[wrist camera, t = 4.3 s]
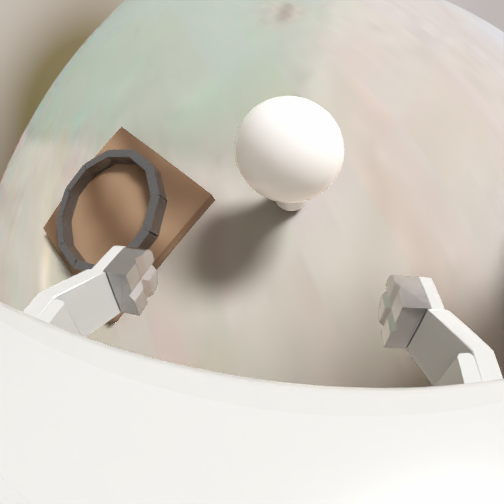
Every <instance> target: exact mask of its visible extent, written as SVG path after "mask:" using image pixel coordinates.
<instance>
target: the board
mask: <svg viewBox="0 0 504 504" xmlns="http://www.w3.org/2000/svg"><path fill="white" fill-rule="evenodd" d="M117 149H133V150H135V151H137V152H138V153H139V154H140V155H142V156H143V157H144V158H145V159H147V160H148V161H149V162H150V163H152V164H153V165H154V166H155V167H156V168H157V169H158V171H159V172H160V173H161V177H162V181H163V185H164V190H165V194H166V198H167V206H166V209H165V213H164V217H163V221H162V225H161V229H160V233H159V236H157V237H158V238H157V239H156V241H155V242H154V243H153V244H152V246H151V247H150V248H149V249H148V250H150V251H151V252H152V253H153V257H154V261H153V263H152V265H153V266H154V267H155V269H156V270H157V268H158V267H159V266H160V265H161V263H162V262H163V261H164V260H165V258H166V257H167V256H168V255H169V254H170V252H171V251H172V250H173V249H174V247H175V246H176V245H177V244H178V243H179V241H180V240H181V239H182V238H183V237H184V235H185V234H186V233H187V232H188V231H189V230H190V228H191V227H192V226H193V225H194V224H195V222H196V221H197V220H198V219H199V218H200V217H201V215H202V214H203V213H204V212H205V211H206V210H207V209H208V207H209V206H210V205H211V204H212V203H213V202H214V201H215V199H214V198H213V196H212V195H211V194H210V193H209V192H207V191H206V190H205V189H203V188H202V187H201V186H199V185H198V184H197V183H196V182H194V181H193V180H192V179H190V178H189V177H188V176H186V175H185V174H184V173H182V172H181V171H180V170H178V169H177V168H176V167H174V166H173V165H172V164H171V163H169V162H168V161H167V160H165V159H164V158H163V157H161V156H160V155H159V154H157V153H156V152H155V151H153V150H152V149H151V148H149V147H148V146H147V145H145V144H144V143H143V142H141V141H140V140H138V139H137V138H136V137H134V136H133V135H132V134H130V133H129V132H128V131H126V130H125V129H124V128H122V127H121V128H120V129H119V130H118V131H117V132H116V134H115V135H114V136H113V137H112V138H111V139H110V140H109V141H108V143H107V144H106V145H105V146H104V147H103V148H102V149H101V151H100V152H99V153H98V154H97V155H96V157H97V156H99V155H100V154H102V153H104V152H106V151H107V150H108V151H109V150H117ZM150 197H151V195H150V191H149V186H148V181H147V176H146V172H145V171H144V170H143V169H142V168H140V167H139V166H138V165H137V164H115V165H113V166H111V167H110V168H108V169H106V170H104V171H102V172H101V173H99V174H97V175H96V176H94V178H93V179H92V180H91V181H90V183H89V184H88V185H87V187H86V188H85V189H84V190H83V192H82V193H81V194H80V196H79V198H78V201H77V204H76V208H75V211H74V215H73V218H72V231H73V240H74V246H75V247H76V249H77V250H78V251H79V253H80V254H81V255H82V257H83V258H84V259H85V261H86V262H87V263H91V264H95V265H96V264H97V263H98V262H99V261H100V260H101V258H102V257H103V256H104V255H105V254H106V253H107V252H108V251H109V250H110V249H111V248H112V247H113V246H116V245H118V246H126V247H128V245H129V244H130V243H131V242H132V240H133V239H134V238H135V236H136V235H137V234H138V233H139V231H140V230H141V229H142V227H143V223H144V219H145V215H146V212H147V208H148V205H149V201H150ZM60 204H61V202H60ZM60 204H59V205H58V207H57V208H56V210H55V211H54V213H53V214H52V216H51V217H50V219H49V220H48V222H47V223H46V225H45V227H44V230H45V232H46V233H47V235H48V237H49V238H50V240H51V241H52V243H53V245H54V246H55V248H56V249H57V251H58V253H59V254H60V256H61V257H62V259H63V260H64V262H65V263H66V265H67V266H68V268H69V269H70V271H71V272H72V273H73V275H77V274H79V273H81V272H83V271H81V270H78V269H74V268H73V267H72V266H71V265H70V263H69V262H68V260H67V259H66V257H65V256H64V254H63V253H62V251H61V250H60V248H59V245H58V234H57V221H56V219H57V214H58V211H59V207H60ZM122 314H123V312H120V314H118V315H117V316H115V317H114V318H112V319H111V320H110V321H109V322H117V320H118V319H119V318H120V316H121V315H122Z"/></svg>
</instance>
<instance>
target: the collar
mask: <svg viewBox="0 0 504 504" xmlns="http://www.w3.org/2000/svg"><path fill="white" fill-rule="evenodd" d="M115 164H137V165H138V166H139V167H140V168H142V169H143V170H144V171H145V172H146V176H147V181H148V186H149V191H150V195H151V197H150V201H149V205H148V208H147V212H146V215H145V219H144V223H143V227H142V229H141V230H140V231H139V233H138V234H137V235H136V236H135V238H134V239H133V240H132V242H131V243H130V244H129V245H128V247H134V248H141V249H149V248H150V247H151V246H152V244H153V243H154V242H155V241H156V239H157V238H158V237H157V236H159V233H160V229H161V225H162V221H163V217H164V213H165V209H166V206H167V198H166V194H165V190H164V185H163V181H162V177H161V173H160V172H159V171H158V169H157V168H156V167H155V166H154V165H153V164H152V163H150V162H149V161H148V160H147V159H145V158H144V157H143V156H142V155H140V154H139V153H138V152H137V151H135V150H133V149H117V150H109V151H108V150H107V151H106V152H104V153H102V154H100V155H99V156H97V157H95V158H94V159H92V160H90V161H89V162H87V163H85V165H83V166H82V168H81V169H80V170H79V171H78V173H77V174H76V175H75V177H74V178H73V179H72V181H71V182H70V183H69V185H68V186H67V187H66V189H65V192H64V195H63V198H62V201H61V204H60V207H59V211H58V214H57V219H56V221H57V234H58V245H59V248H60V250H61V251H62V253H63V254H64V256H65V257H66V259H67V260H68V262H69V263H70V265H71V266H72V267H73V268H74V269H78V270H81V271H85V270H87V269H92V268H93V267H94V266H95V264H91V263H87V262H86V261H85V259H84V258H83V257H82V255H81V254H80V253H79V251H78V250H77V249H76V247H75V246H74V240H73V231H72V218H73V215H74V211H75V208H76V204H77V201H78V198H79V196H80V194H81V193H82V192H83V190H84V189H85V188H86V187H87V185H88V184H89V183H90V181H91V180H92V179H93V178H94V176H96V175H97V174H99V173H101V172H102V171H104V170H106V169H108V168H110V167H111V166H113V165H115Z"/></svg>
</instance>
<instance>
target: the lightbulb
mask: <svg viewBox="0 0 504 504" xmlns="http://www.w3.org/2000/svg"><path fill="white" fill-rule="evenodd" d="M234 154H235V160H236V164H237V167H238V169H239V172H240V174H241V175H242V177H243V178H244V180H245V181H246V183H247V184H248V185H249V186H250V187H251V188H252V189H253V190H255V191H256V192H257V193H259V194H260V195H262V196H264V197H266V198H268V199H270V200H273V201H275V202H276V203H277V205H278V206H279V207H280V208H282V209H284V210H287V211H296V210H298V209H300V208H302V207H303V206H304V205H305V203H306V201H308V200H311V199H313V198H315V197H317V196H319V195H320V194H322V193H323V192H325V191H326V190H327V189H328V188H329V187H330V186H331V185H332V184H333V182H334V181H335V180H336V178H337V177H338V175H339V173H340V170H341V168H342V165H343V160H344V142H343V137H342V134H341V131H340V129H339V127H338V125H337V123H336V121H335V120H334V119H333V117H332V116H331V115H330V114H329V113H328V112H327V111H326V110H325V109H324V108H323V107H321V106H320V105H318V104H316V103H315V102H313V101H311V100H308V99H305V98H301V97H296V96H279V97H275V98H271V99H268V100H266V101H263V102H262V103H260V104H258V105H257V106H255V107H254V108H253V109H252V110H250V111H249V112H248V114H247V115H246V116H245V117H244V119H243V120H242V122H241V123H240V125H239V127H238V130H237V133H236V136H235V142H234Z"/></svg>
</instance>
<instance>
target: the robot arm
mask: <svg viewBox="0 0 504 504" xmlns="http://www.w3.org/2000/svg"><path fill="white" fill-rule="evenodd" d="M153 261H154V257H153V253H152V252H151V251H150V250H148V249H141V248H134V247H126V246H118V245H116V246H113V247H112V248H111V249H110V250H109V251H108V252H107V253H106V254H105V255H104V256H103V257H102V258H101V260H100V261H99V262H98V263H97V264H96V265H95V266H94V267H93V268H92V269H87V270H85V271H83V272H81V273H79V274H77V275H74V276H72V277H70V278H68V279H66V280H64V281H62V282H60V283H58V284H56V285H54V286H51V287H49V288H47V289H45V290H43V291H41V292H39V293H38V295H37V296H36V297H35V298H34V299H33V300H32V301H31V303H30V304H29V305H28V306H27V307H26V308H25V310H24V311H23V312H22V311H19V310H17V309H15V308H13V307H11V306H9V305H7V304H4V303H2V302H0V504H504V378H503V377H502V374H501V371H500V368H499V365H498V362H497V360H496V357H495V354H494V351H493V350H492V349H491V348H490V347H489V346H488V345H487V344H486V343H485V342H484V341H483V340H481V339H480V338H479V337H478V336H477V335H476V334H475V333H474V332H473V331H472V330H471V329H469V328H468V327H467V326H466V325H465V324H464V323H463V322H462V321H461V320H459V319H458V318H457V317H456V316H455V315H454V314H453V313H451V312H450V311H449V310H445V309H444V306H443V304H442V301H441V299H440V296H439V294H438V292H437V289H436V287H435V285H434V283H433V280H432V279H431V278H430V277H410V276H398V275H390V276H389V277H388V279H387V282H386V288H387V291H386V292H385V293H384V294H383V295H382V297H381V300H380V303H379V322H380V323H381V324H382V325H383V326H384V327H383V329H382V331H381V334H382V339H383V346H384V347H387V348H405V349H406V350H407V351H408V353H409V354H410V355H411V357H412V358H413V360H414V361H415V362H416V364H417V365H418V366H419V368H420V369H421V370H422V372H423V373H424V375H425V376H426V377H427V379H428V380H429V382H430V383H431V384H432V386H430V387H407V388H362V387H337V386H321V385H309V384H298V383H288V382H280V381H271V380H264V379H257V378H250V377H244V376H237V375H231V374H226V373H220V372H215V371H210V370H205V369H200V368H195V367H190V366H186V365H181V364H177V363H173V362H169V361H165V360H161V359H157V358H153V357H149V356H145V355H142V354H138V353H134V352H131V351H128V350H124V349H121V348H117V347H114V346H111V345H108V344H105V343H102V342H99V341H96V340H93V339H90V338H87V336H89V335H90V334H91V333H93V332H94V331H96V330H97V329H98V328H100V327H101V326H103V325H104V324H105V323H107V322H108V321H110V320H111V319H112V318H114V317H115V316H117V315H118V314H120V312H124V313H129V314H134V315H139V316H140V314H141V313H142V311H143V310H144V308H145V306H146V305H147V303H148V302H147V298H148V297H150V296H151V295H153V294H154V292H155V290H156V288H157V284H158V274H157V270H156V269H155V267H154V266H153V265H152V263H153Z"/></svg>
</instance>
